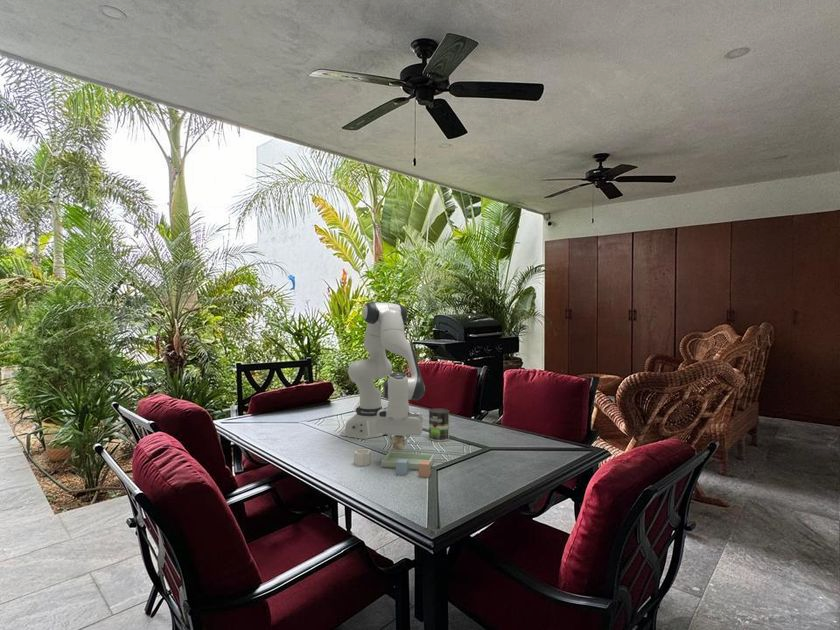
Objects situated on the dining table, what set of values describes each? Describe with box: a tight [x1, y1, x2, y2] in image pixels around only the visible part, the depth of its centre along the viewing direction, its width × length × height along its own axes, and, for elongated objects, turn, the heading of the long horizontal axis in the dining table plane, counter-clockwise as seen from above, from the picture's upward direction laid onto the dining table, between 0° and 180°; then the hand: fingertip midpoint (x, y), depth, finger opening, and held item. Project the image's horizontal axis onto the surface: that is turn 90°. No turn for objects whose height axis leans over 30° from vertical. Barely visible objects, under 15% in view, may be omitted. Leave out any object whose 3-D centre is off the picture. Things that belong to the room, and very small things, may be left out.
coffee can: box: [428, 407, 450, 442], centre depth 219 cm, size 10×10×14 cm
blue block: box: [395, 459, 409, 476], centre depth 174 cm, size 4×4×5 cm
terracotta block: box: [418, 460, 432, 478], centre depth 172 cm, size 4×4×5 cm
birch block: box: [392, 434, 405, 451], centre depth 184 cm, size 4×4×5 cm
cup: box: [353, 448, 372, 467], centre depth 184 cm, size 7×7×5 cm
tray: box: [380, 451, 435, 471], centre depth 183 cm, size 20×12×3 cm, turn 78°
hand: (398, 444), depth 184 cm, fingers closed on birch block, 4 cm apart
